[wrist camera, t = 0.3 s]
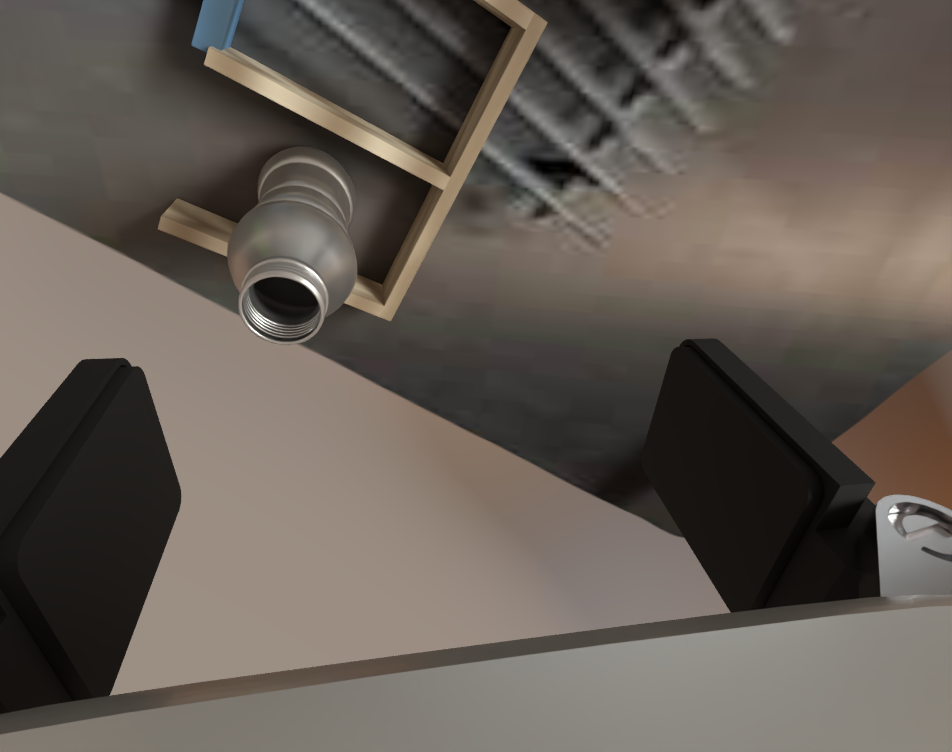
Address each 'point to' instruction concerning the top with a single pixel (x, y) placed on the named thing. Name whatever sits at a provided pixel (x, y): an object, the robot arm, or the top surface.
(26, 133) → the top surface
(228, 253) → the plastic bottle
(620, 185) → the top surface
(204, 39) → the divider rack
